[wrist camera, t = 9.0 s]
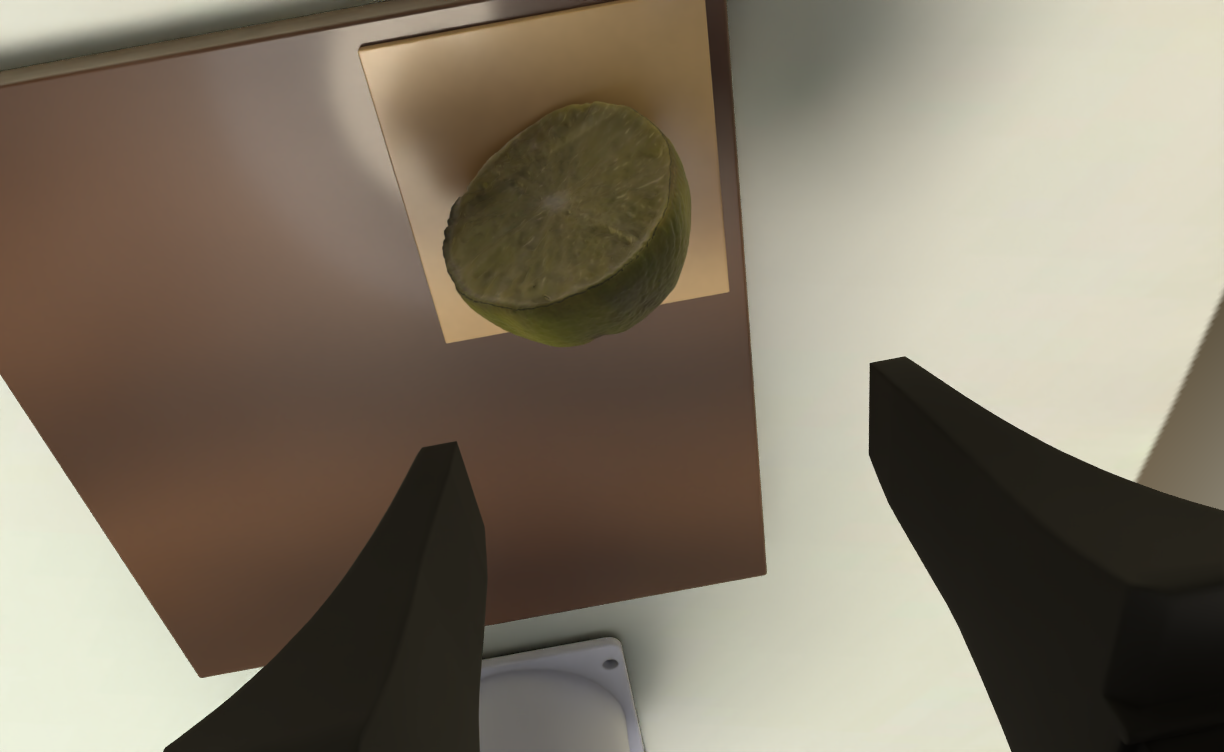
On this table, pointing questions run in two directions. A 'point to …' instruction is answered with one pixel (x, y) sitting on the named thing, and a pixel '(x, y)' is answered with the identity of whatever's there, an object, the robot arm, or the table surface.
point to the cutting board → (366, 310)
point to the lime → (572, 226)
